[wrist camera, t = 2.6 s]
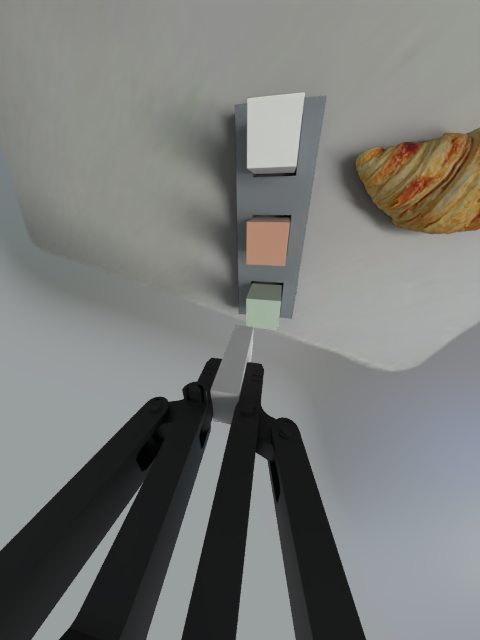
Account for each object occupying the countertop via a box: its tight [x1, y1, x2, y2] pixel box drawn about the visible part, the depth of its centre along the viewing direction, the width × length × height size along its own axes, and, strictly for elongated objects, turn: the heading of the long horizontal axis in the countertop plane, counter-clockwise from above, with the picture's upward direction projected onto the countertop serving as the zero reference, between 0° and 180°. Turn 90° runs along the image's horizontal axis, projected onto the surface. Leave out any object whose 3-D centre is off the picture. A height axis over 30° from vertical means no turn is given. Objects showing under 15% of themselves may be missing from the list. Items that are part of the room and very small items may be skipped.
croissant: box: [356, 128, 480, 234], centre depth 23 cm, size 21×10×8 cm, turn 75°
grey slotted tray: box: [235, 96, 326, 318], centre depth 30 cm, size 28×10×2 cm, turn 1°
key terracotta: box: [246, 218, 290, 266], centre depth 26 cm, size 5×5×6 cm
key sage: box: [246, 283, 282, 330], centre depth 32 cm, size 5×5×6 cm
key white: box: [247, 92, 305, 174], centre depth 21 cm, size 5×5×6 cm
